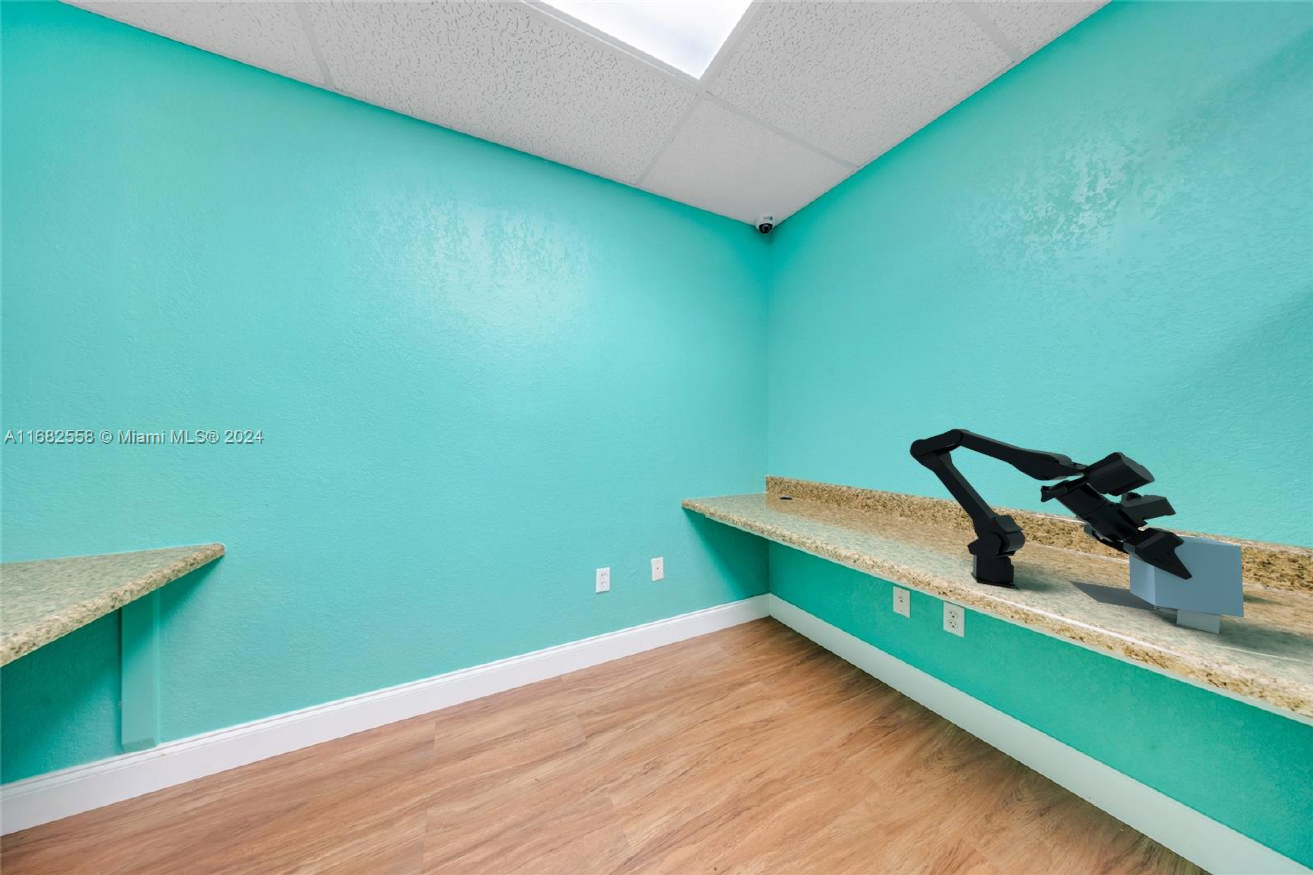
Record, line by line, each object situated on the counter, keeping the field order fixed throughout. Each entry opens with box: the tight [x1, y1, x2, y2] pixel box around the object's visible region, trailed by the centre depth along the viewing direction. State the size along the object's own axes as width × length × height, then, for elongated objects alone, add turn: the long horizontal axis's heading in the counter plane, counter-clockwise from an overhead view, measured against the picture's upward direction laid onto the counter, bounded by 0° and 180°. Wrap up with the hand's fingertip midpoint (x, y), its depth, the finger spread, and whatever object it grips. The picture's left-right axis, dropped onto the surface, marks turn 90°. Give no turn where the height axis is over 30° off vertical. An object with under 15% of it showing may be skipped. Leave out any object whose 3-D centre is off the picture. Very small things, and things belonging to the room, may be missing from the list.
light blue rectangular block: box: [1128, 535, 1245, 619], centre depth 70 cm, size 10×7×12 cm
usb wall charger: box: [1154, 606, 1221, 635], centre depth 70 cm, size 4×7×4 cm, turn 36°
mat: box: [1067, 580, 1162, 613], centre depth 80 cm, size 16×13×1 cm
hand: (1172, 571), depth 71 cm, fingers closed on light blue rectangular block, 7 cm apart
